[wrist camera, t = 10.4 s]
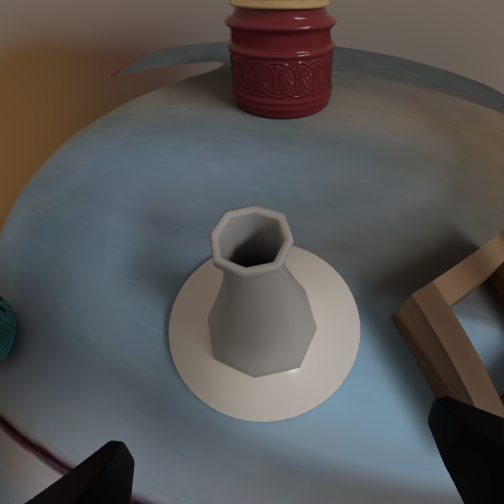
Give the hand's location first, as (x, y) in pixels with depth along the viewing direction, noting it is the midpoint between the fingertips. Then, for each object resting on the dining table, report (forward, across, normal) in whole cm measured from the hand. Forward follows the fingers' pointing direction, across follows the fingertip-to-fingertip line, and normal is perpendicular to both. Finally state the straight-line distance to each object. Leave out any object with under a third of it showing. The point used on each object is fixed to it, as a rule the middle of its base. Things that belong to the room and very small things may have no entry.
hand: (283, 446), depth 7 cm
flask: (+13, 0, +2) cm, 13 cm away
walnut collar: (+10, -17, +6) cm, 21 cm away
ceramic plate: (+13, 0, +3) cm, 14 cm away
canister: (+35, -6, -18) cm, 40 cm away
